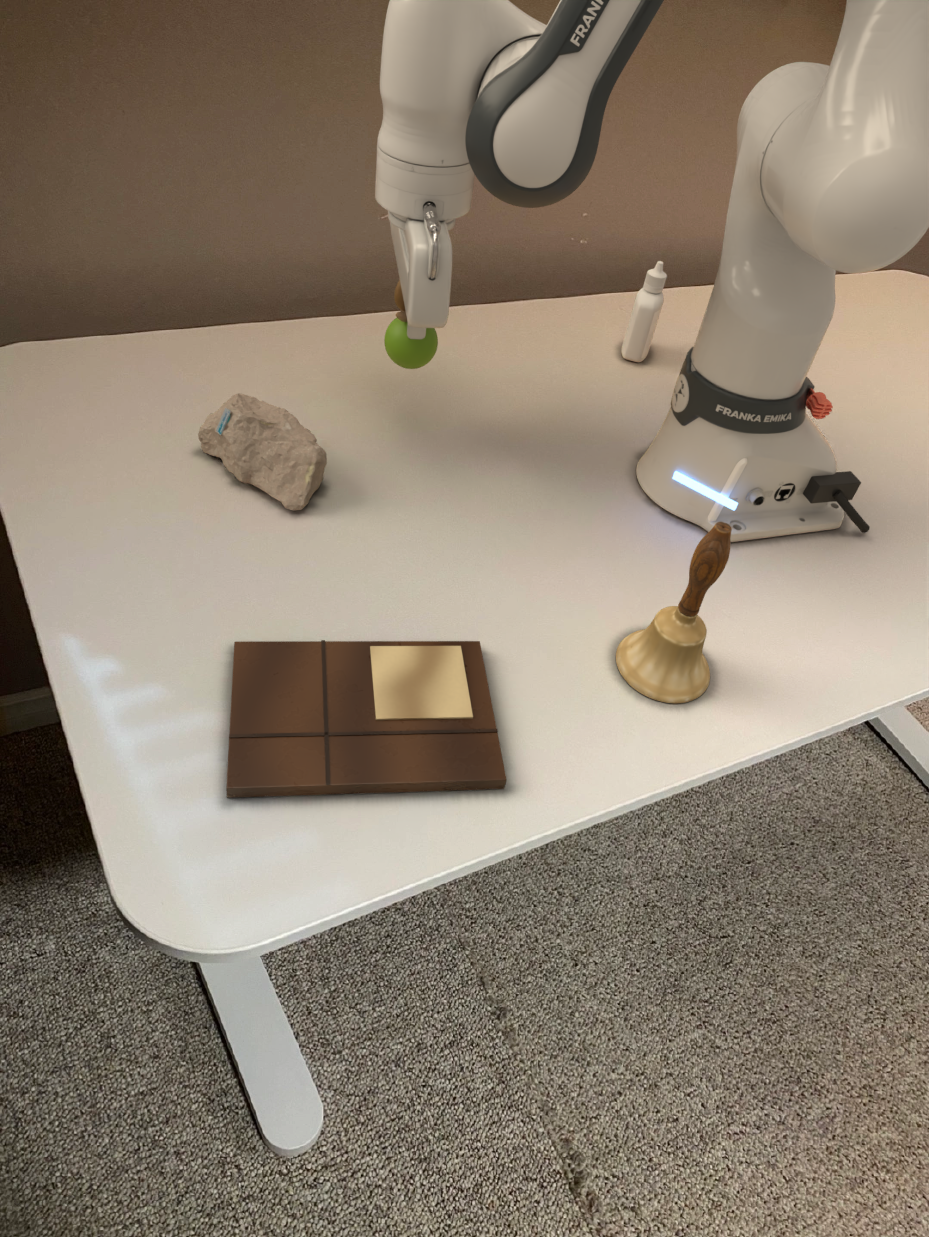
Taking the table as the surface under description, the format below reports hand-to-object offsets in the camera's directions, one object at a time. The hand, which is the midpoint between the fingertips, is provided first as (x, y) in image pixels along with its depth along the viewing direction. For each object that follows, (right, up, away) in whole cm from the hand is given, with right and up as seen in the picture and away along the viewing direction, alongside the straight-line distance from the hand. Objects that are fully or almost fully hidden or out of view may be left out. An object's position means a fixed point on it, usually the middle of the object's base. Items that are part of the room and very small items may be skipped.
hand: (413, 325), depth 93 cm
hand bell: (+22, -34, -13) cm, 42 cm away
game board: (-3, -37, -21) cm, 43 cm away
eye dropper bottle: (+27, +5, +27) cm, 38 cm away
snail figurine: (0, -3, +4) cm, 5 cm away
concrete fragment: (-14, -15, -1) cm, 21 cm away
